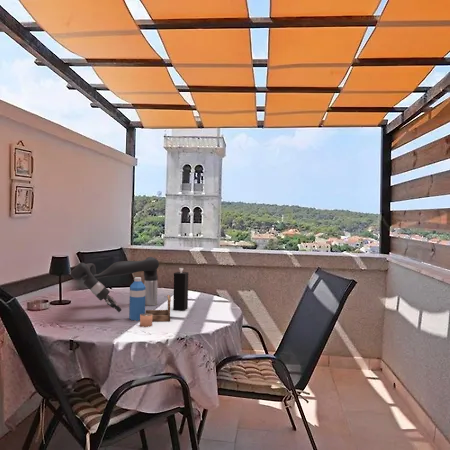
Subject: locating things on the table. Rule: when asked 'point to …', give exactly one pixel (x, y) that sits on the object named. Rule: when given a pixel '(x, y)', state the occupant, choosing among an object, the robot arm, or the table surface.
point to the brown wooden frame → (160, 313)
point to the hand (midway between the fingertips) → (120, 310)
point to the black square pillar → (180, 290)
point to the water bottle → (137, 299)
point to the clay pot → (146, 320)
